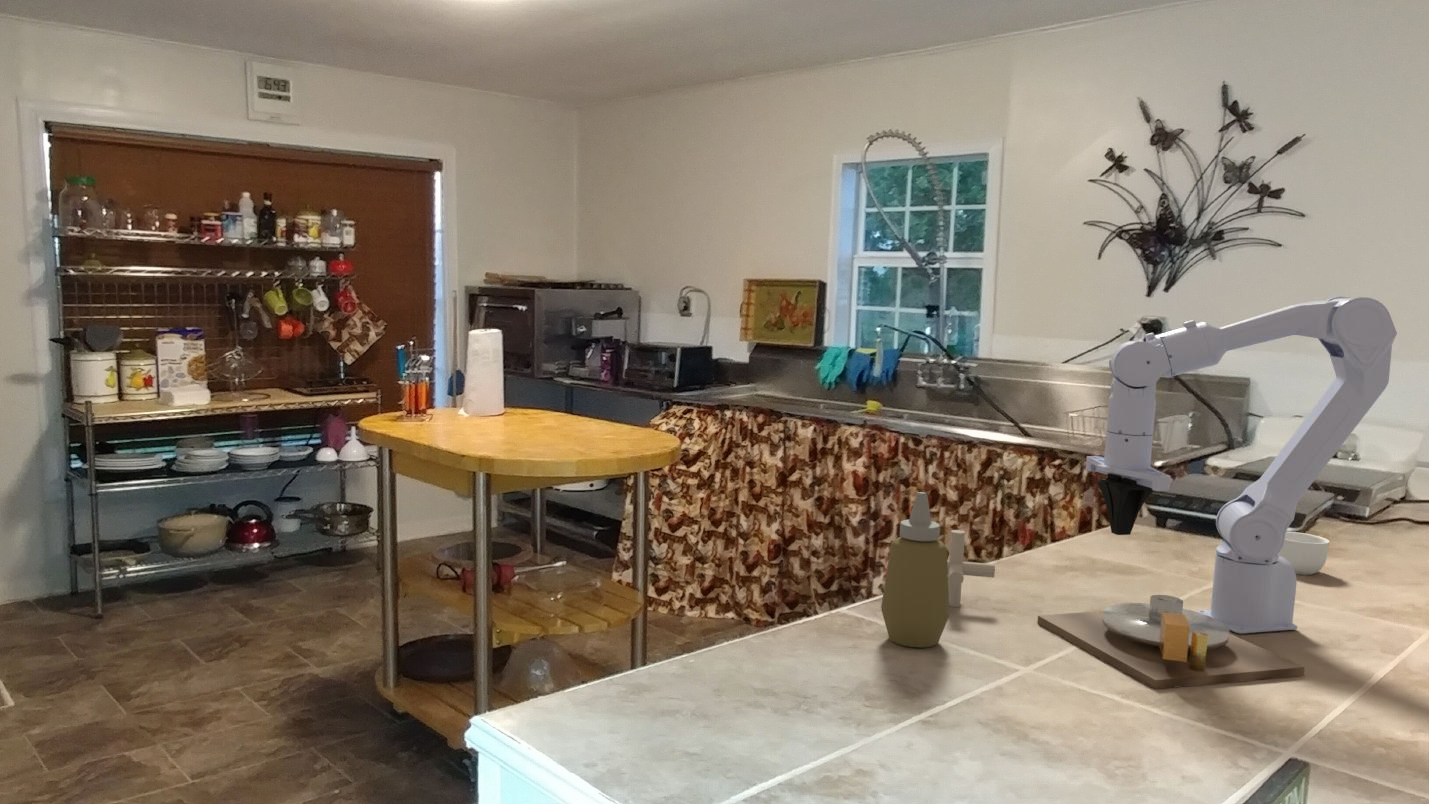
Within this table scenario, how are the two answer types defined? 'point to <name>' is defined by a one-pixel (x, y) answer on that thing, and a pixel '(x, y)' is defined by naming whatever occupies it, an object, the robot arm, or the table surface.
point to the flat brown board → (1158, 673)
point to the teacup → (1305, 552)
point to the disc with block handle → (1164, 625)
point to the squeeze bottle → (917, 581)
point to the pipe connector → (962, 567)
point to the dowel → (1198, 651)
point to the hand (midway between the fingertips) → (1120, 533)
